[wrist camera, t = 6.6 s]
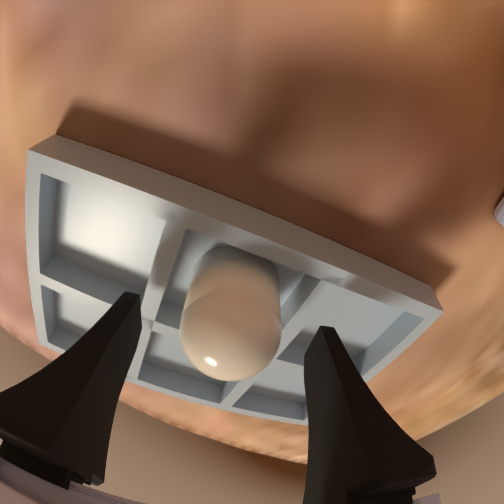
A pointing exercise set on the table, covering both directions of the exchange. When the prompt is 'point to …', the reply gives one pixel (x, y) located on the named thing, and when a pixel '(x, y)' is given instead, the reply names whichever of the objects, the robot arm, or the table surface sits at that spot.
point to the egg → (232, 314)
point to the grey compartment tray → (181, 269)
